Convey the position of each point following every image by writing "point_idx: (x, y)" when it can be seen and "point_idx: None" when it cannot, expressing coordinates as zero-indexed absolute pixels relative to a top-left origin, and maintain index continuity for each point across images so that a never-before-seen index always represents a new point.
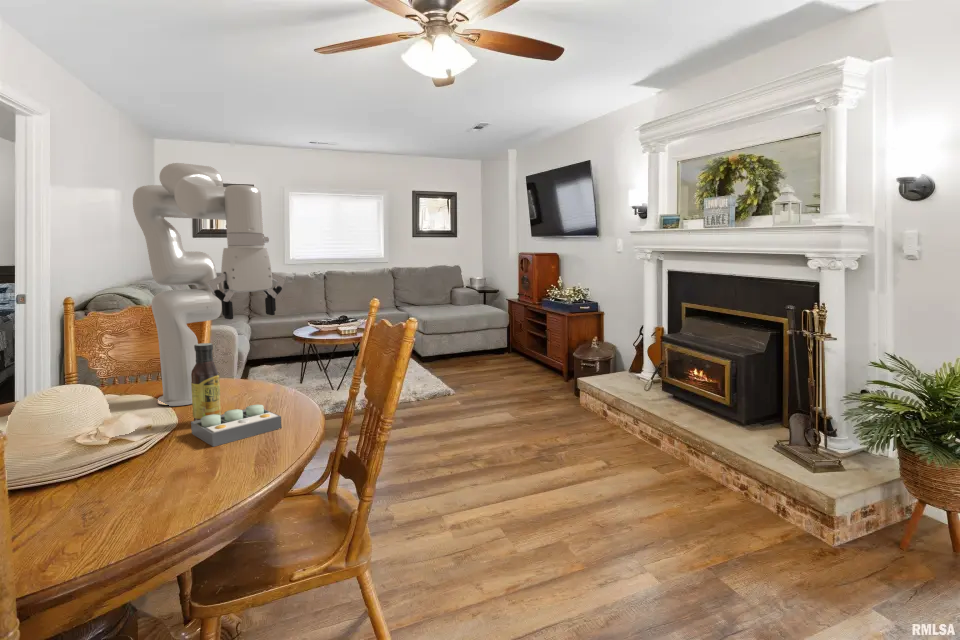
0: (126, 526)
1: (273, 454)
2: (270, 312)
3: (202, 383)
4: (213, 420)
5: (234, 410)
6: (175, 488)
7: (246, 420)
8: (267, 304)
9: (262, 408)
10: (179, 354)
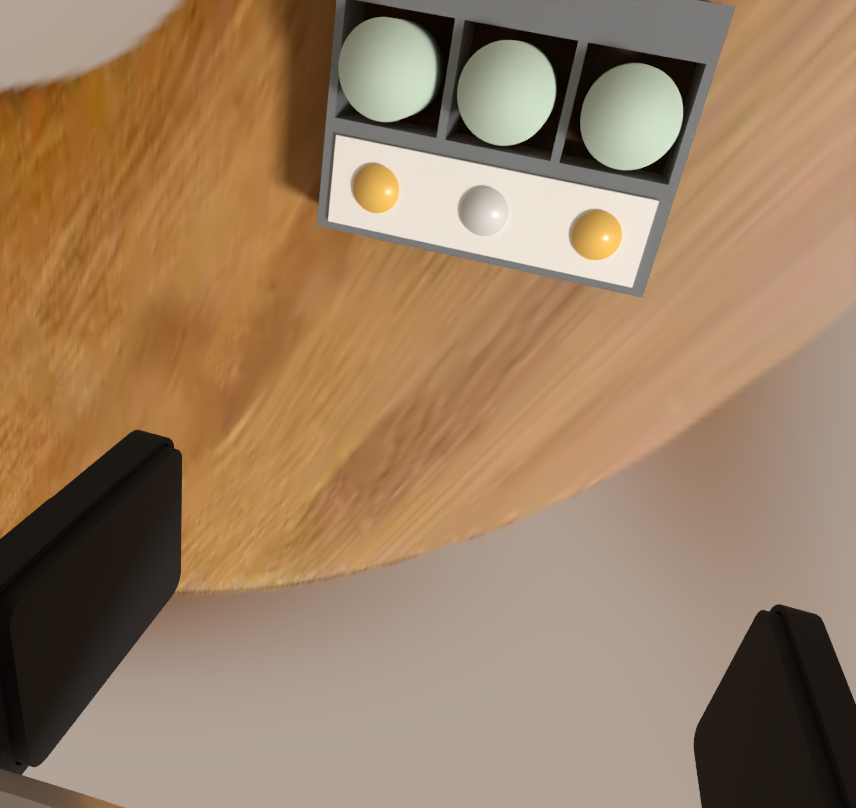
0: (2, 480)
1: (419, 463)
2: (708, 741)
3: None
4: (374, 119)
5: (525, 72)
6: (124, 411)
7: (494, 221)
8: (766, 800)
9: (647, 164)
10: None
